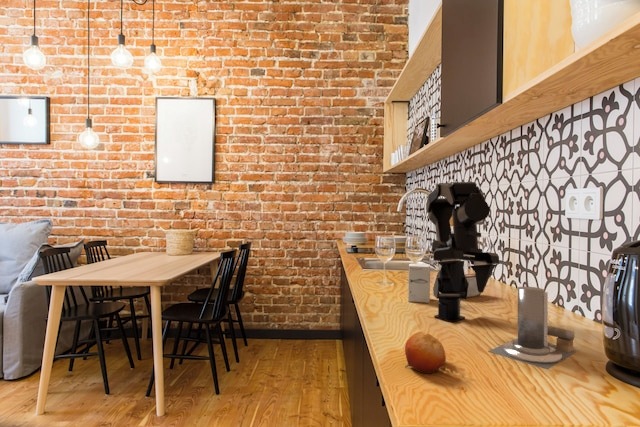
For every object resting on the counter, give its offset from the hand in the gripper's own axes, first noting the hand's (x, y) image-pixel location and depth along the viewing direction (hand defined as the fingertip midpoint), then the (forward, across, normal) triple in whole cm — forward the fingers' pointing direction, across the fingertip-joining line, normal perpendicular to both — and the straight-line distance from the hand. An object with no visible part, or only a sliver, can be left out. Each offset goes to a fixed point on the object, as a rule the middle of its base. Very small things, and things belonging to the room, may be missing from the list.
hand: (469, 291), depth 95 cm
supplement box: (+2, -23, -37) cm, 44 cm away
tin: (0, -41, -31) cm, 51 cm away
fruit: (+16, +21, +4) cm, 27 cm away
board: (+14, -4, +12) cm, 19 cm away
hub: (+12, -2, +13) cm, 18 cm away
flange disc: (+13, -2, +13) cm, 19 cm away
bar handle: (+12, -10, +12) cm, 19 cm away
